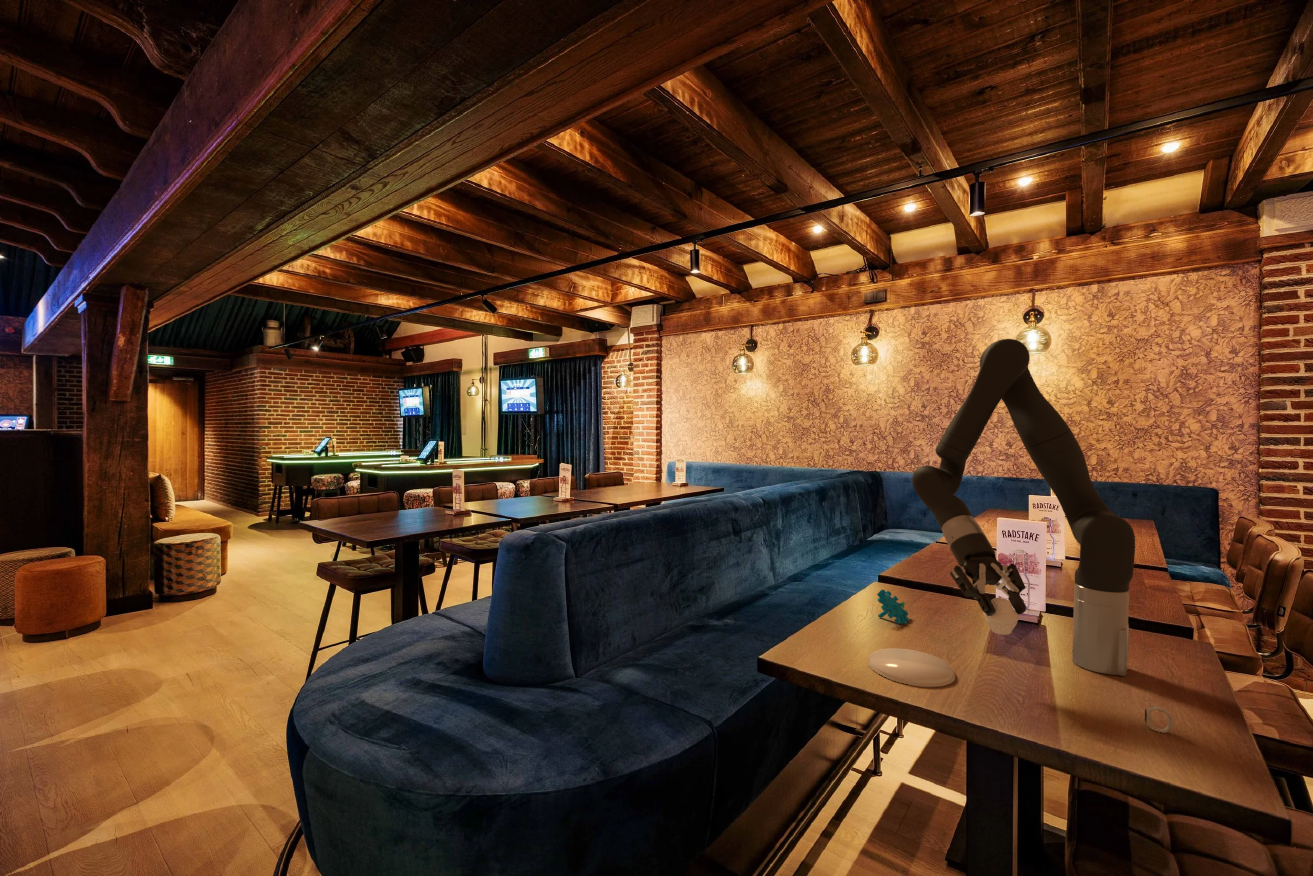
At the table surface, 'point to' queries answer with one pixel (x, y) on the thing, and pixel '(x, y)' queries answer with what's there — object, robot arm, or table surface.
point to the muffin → (1002, 617)
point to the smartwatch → (1148, 710)
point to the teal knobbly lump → (892, 607)
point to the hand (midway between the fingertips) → (1007, 613)
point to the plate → (911, 667)
